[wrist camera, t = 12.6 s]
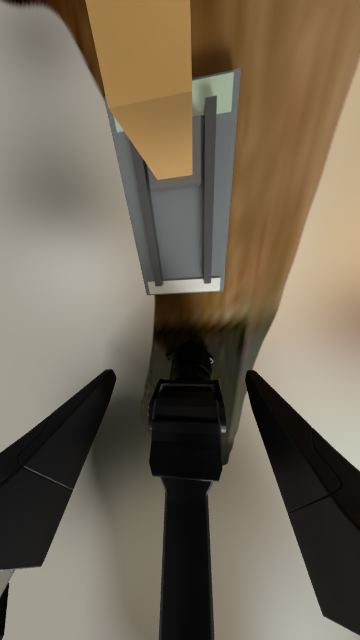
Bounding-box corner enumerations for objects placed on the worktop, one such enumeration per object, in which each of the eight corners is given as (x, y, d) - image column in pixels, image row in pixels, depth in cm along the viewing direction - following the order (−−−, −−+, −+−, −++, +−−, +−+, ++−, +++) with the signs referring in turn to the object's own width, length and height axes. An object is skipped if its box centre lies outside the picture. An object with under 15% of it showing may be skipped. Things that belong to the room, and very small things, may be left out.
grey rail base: (221, 287, 19) (225, 294, 17) (149, 291, 20) (144, 298, 18) (235, 86, 11) (246, 49, 9) (113, 111, 12) (94, 83, 10)
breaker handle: (200, 185, 13) (212, 113, 5) (153, 192, 13) (96, 135, 5) (200, 123, 11) (218, -150, 3) (145, 133, 12) (40, -84, 4)
